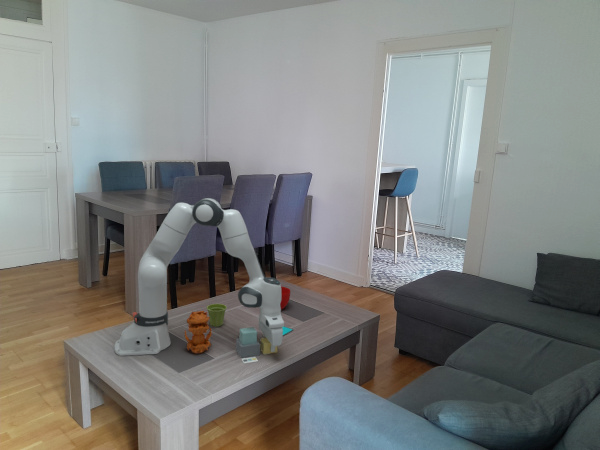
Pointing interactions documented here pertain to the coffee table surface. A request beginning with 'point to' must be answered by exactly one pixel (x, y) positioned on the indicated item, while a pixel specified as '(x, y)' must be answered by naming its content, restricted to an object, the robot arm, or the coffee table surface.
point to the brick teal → (248, 336)
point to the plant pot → (216, 314)
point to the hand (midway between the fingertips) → (268, 346)
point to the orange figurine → (198, 332)
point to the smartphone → (286, 330)
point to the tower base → (247, 349)
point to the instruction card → (249, 360)
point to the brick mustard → (266, 346)
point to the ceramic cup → (284, 297)
